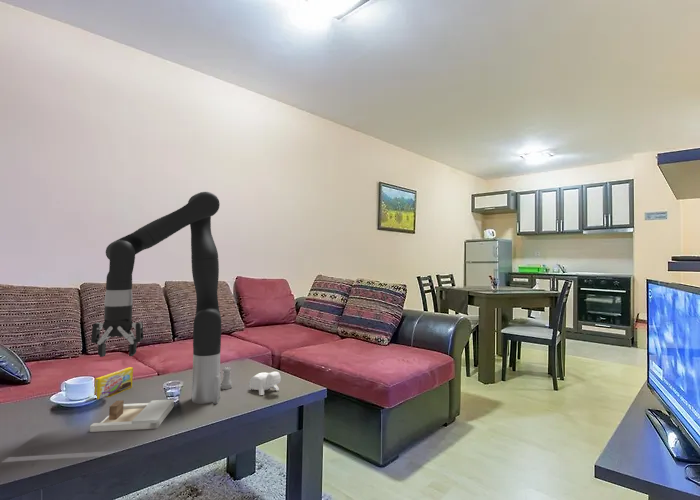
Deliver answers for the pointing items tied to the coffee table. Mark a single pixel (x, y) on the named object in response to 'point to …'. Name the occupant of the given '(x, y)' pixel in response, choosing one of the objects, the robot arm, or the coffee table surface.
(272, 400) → the coffee table surface
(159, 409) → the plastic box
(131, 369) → the candy box
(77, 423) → the coffee table surface
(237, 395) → the coffee table surface
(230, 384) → the rook chess piece
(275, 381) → the white elephant figurine
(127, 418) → the cover plate
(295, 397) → the coffee table surface
